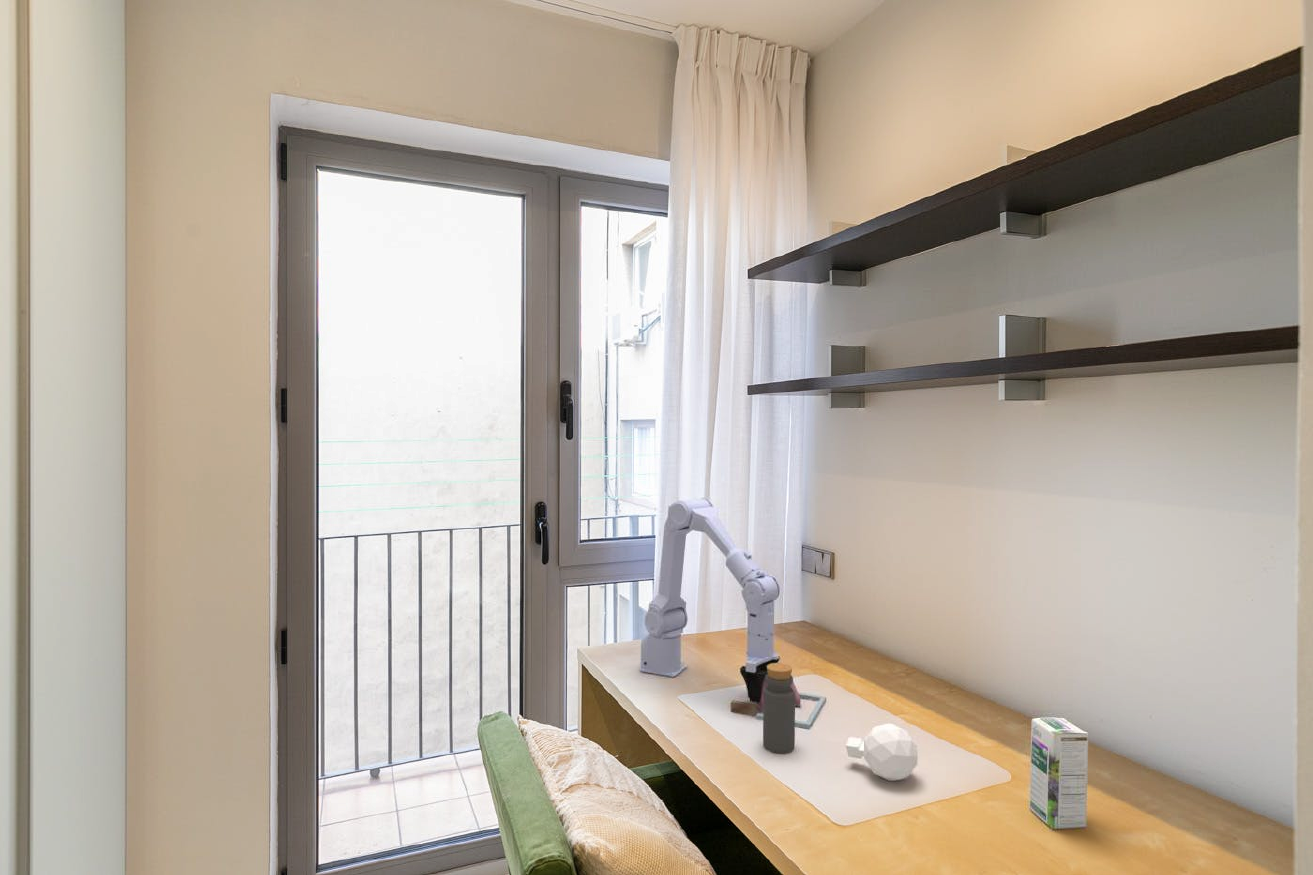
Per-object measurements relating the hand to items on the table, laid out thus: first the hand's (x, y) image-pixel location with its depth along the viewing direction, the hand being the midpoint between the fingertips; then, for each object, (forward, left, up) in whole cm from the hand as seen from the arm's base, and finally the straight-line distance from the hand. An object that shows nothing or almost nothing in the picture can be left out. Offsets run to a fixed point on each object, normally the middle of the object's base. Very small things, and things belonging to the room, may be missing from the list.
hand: (760, 695), depth 150 cm
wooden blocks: (-2, 0, -2) cm, 3 cm away
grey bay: (+7, 0, -2) cm, 7 cm away
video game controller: (+3, +1, -2) cm, 4 cm away
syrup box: (+54, -23, -2) cm, 59 cm away
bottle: (+9, -18, -2) cm, 20 cm away
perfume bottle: (+28, -20, -2) cm, 35 cm away
